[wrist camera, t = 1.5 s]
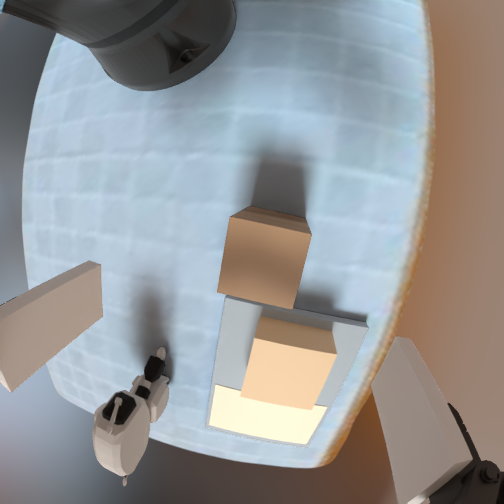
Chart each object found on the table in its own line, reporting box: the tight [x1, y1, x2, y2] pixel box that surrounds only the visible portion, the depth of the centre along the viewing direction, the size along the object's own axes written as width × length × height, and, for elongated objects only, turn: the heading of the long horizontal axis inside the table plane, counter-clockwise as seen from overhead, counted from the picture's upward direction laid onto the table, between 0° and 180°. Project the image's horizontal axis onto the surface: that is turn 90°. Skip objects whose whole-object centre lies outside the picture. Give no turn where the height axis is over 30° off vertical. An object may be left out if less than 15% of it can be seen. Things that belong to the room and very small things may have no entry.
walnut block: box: [217, 206, 312, 310], centre depth 21 cm, size 5×5×8 cm
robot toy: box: [93, 347, 169, 486], centre depth 24 cm, size 12×4×15 cm, turn 167°
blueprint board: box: [205, 295, 369, 448], centre depth 26 cm, size 20×14×5 cm
